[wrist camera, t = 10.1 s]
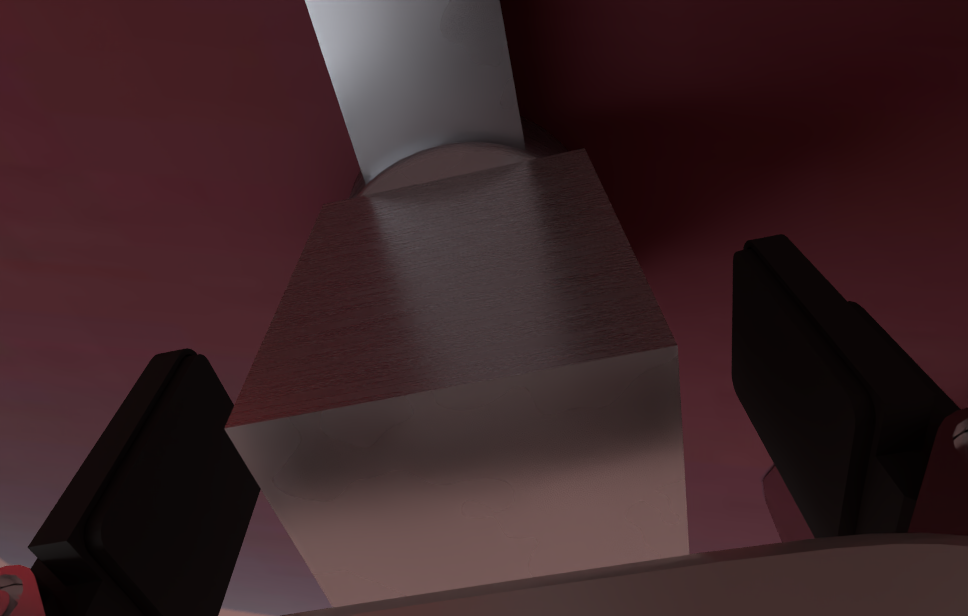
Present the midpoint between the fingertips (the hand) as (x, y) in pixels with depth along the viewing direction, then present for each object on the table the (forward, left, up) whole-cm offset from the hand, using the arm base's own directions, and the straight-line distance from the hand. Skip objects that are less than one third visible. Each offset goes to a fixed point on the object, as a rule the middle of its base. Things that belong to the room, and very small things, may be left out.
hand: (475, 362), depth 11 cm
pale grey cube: (0, 0, -2) cm, 2 cm away
